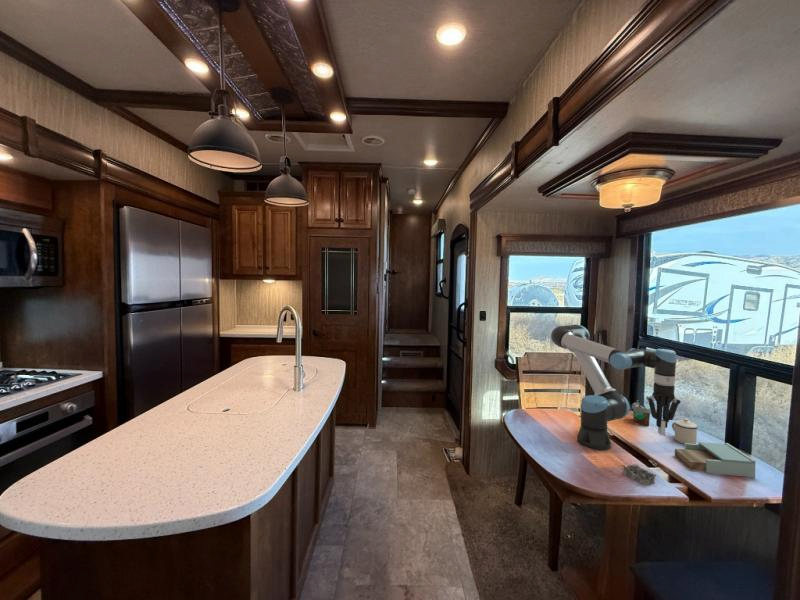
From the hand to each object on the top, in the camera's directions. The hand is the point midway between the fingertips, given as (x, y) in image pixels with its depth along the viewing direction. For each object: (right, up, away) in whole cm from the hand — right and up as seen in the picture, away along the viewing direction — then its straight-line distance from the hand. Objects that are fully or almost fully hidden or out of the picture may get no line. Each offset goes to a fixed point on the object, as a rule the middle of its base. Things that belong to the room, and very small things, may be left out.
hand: (661, 433), depth 156 cm
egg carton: (-20, -14, -14) cm, 28 cm away
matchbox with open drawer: (+21, -12, -5) cm, 25 cm away
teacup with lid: (+26, -11, +20) cm, 35 cm away
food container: (+19, -10, +42) cm, 47 cm away
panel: (+17, -13, -4) cm, 21 cm away
